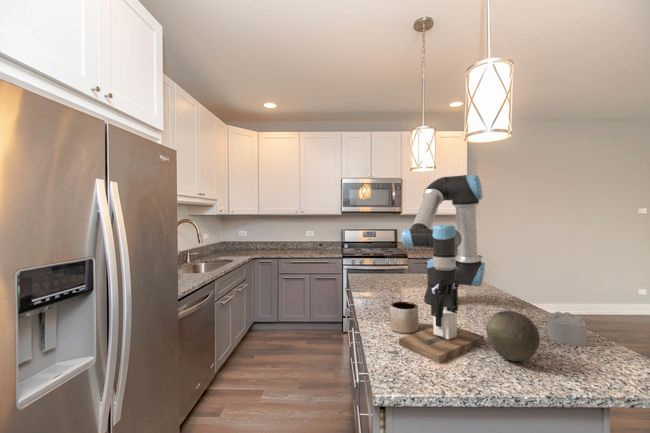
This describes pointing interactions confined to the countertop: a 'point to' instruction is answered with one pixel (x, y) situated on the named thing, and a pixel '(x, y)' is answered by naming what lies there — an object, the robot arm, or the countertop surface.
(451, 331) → the fader cap
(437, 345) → the fader board
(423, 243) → the robot arm
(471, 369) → the countertop surface
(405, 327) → the planter
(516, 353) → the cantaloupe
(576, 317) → the lumpy-topped squat cylinder
